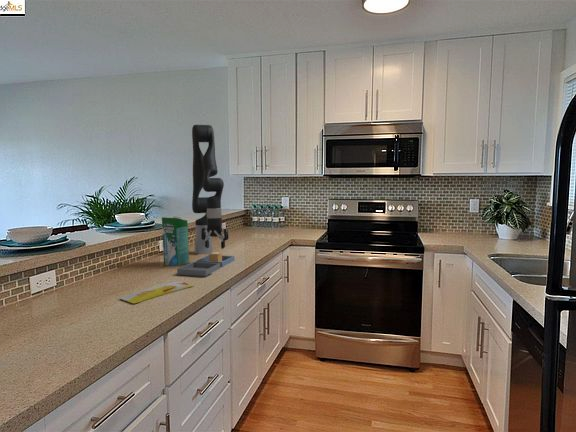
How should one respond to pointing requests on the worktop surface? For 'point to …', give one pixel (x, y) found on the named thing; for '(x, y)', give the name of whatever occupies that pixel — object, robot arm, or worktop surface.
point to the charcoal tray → (198, 269)
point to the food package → (155, 292)
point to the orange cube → (215, 257)
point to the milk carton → (175, 241)
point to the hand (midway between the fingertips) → (215, 248)
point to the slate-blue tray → (224, 262)
